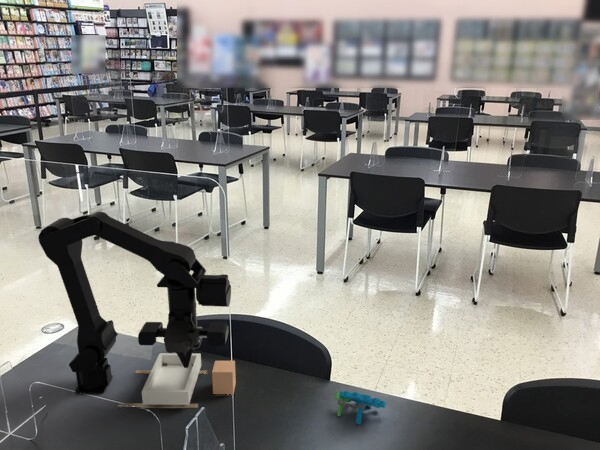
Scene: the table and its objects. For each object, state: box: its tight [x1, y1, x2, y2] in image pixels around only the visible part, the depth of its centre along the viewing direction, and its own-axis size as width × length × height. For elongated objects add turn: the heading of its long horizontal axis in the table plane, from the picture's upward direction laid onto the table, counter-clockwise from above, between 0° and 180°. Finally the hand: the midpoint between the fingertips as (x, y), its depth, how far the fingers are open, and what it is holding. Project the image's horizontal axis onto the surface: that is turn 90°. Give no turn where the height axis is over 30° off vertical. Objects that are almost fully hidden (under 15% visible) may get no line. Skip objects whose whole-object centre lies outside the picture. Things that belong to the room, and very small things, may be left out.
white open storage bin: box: [141, 352, 202, 405], centre depth 115 cm, size 10×15×4 cm, turn 0°
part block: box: [211, 360, 237, 396], centre depth 115 cm, size 4×4×6 cm
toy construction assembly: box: [333, 390, 387, 425], centre depth 107 cm, size 11×6×10 cm
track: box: [118, 369, 208, 409], centre depth 116 cm, size 17×14×1 cm
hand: (186, 366), depth 114 cm, fingers closed
